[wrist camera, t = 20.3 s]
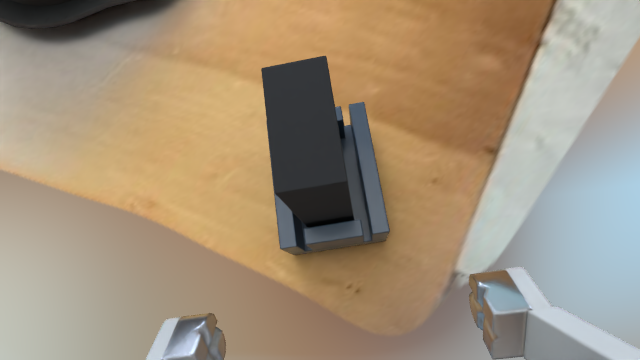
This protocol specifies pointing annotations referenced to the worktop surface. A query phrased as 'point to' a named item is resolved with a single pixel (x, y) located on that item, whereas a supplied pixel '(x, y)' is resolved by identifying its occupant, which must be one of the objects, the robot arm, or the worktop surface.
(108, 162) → the worktop surface
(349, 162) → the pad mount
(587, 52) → the worktop surface
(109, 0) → the casserole
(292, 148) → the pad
